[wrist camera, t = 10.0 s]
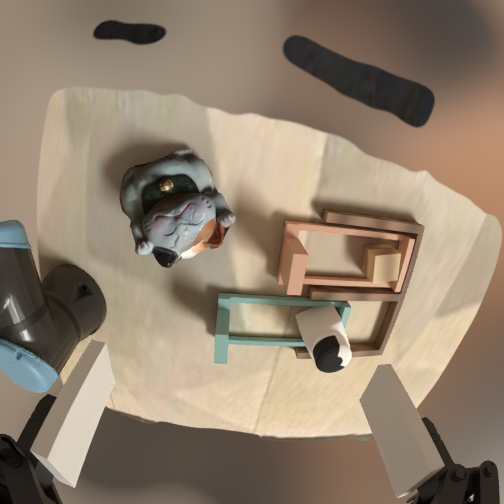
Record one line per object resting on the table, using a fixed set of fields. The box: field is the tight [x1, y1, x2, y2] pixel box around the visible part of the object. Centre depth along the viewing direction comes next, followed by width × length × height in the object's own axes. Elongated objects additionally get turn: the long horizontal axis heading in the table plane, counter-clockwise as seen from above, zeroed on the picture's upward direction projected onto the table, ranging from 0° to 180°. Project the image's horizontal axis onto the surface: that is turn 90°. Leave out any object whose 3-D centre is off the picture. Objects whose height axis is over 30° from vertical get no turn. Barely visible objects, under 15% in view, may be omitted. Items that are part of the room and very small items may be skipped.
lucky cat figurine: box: [120, 149, 236, 268], centre depth 37 cm, size 15×12×14 cm
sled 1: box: [277, 220, 415, 295], centre depth 42 cm, size 23×10×9 cm, turn 85°
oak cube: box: [362, 243, 401, 284], centre depth 45 cm, size 5×5×5 cm
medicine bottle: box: [295, 304, 352, 373], centre depth 46 cm, size 7×7×12 cm
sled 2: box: [214, 293, 351, 364], centre depth 46 cm, size 23×10×9 cm, turn 84°
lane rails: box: [295, 209, 425, 359], centre depth 48 cm, size 19×28×2 cm
